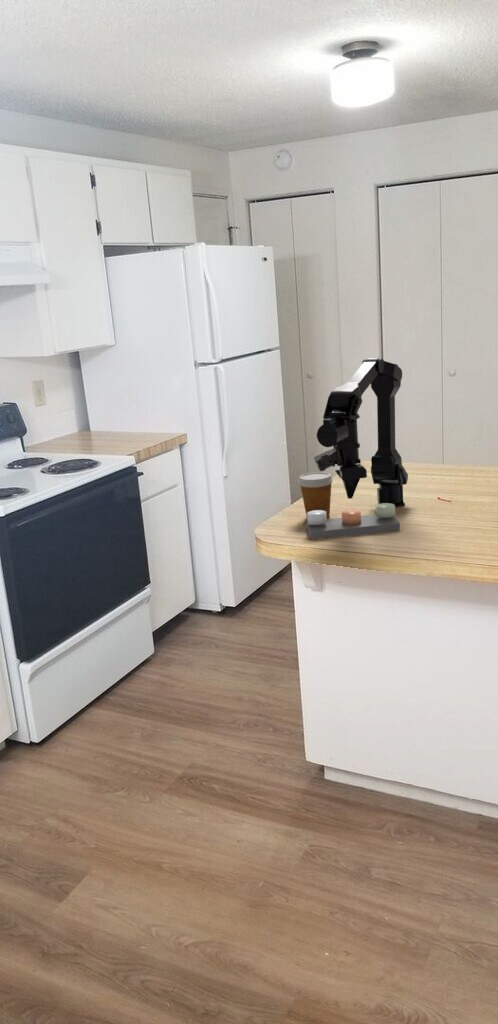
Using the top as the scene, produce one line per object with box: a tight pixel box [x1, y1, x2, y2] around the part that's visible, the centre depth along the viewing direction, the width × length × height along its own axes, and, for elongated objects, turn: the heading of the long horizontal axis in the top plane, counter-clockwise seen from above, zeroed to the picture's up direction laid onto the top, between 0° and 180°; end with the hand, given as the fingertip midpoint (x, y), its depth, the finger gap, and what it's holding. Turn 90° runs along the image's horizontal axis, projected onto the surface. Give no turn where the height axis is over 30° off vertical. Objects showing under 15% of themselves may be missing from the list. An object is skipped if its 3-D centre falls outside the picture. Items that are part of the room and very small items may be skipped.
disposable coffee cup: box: [297, 471, 334, 519], centre depth 228 cm, size 10×10×12 cm
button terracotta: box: [341, 509, 362, 525], centre depth 215 cm, size 5×5×2 cm
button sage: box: [374, 503, 396, 518], centre depth 215 cm, size 5×5×2 cm
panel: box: [305, 513, 401, 541], centre depth 216 cm, size 23×10×2 cm, turn 93°
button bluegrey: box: [306, 510, 327, 525], centre depth 215 cm, size 5×5×2 cm
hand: (349, 498), depth 214 cm, fingers closed
